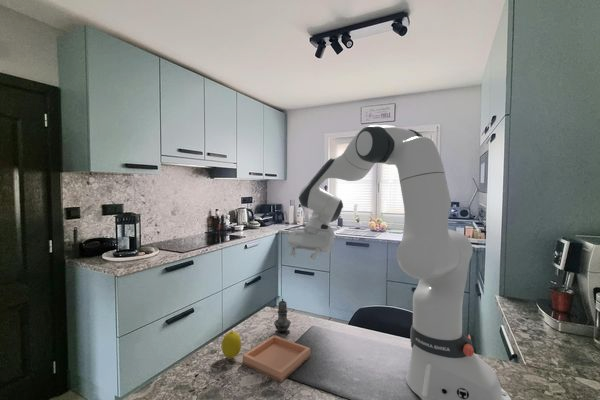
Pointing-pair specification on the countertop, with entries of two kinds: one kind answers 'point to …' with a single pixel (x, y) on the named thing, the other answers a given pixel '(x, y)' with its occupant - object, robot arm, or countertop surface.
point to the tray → (276, 357)
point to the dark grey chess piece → (282, 320)
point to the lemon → (231, 344)
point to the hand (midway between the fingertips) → (301, 257)
